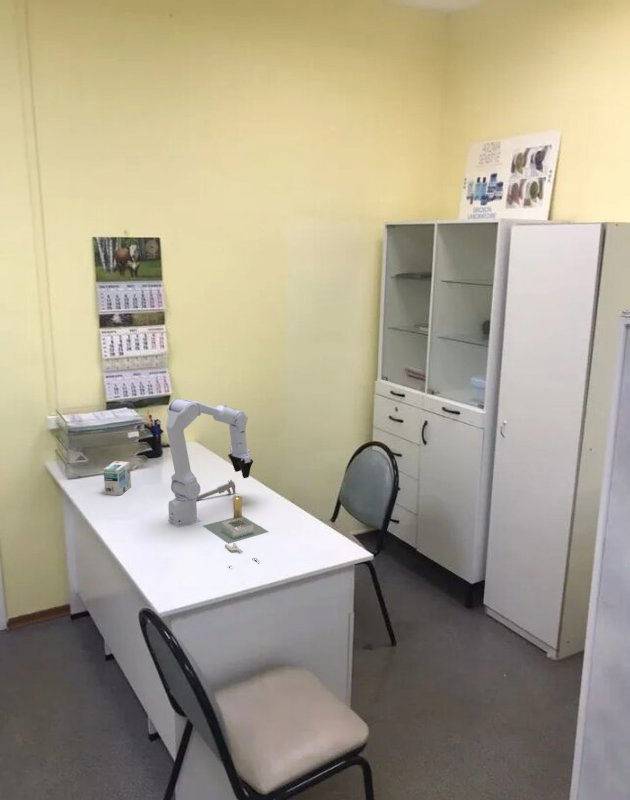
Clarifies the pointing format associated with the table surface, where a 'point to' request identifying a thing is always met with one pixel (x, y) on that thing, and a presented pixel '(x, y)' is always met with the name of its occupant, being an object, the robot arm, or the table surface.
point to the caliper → (219, 490)
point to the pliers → (235, 550)
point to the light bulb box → (117, 478)
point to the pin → (237, 506)
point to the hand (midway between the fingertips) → (241, 474)
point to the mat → (217, 531)
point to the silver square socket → (237, 528)
